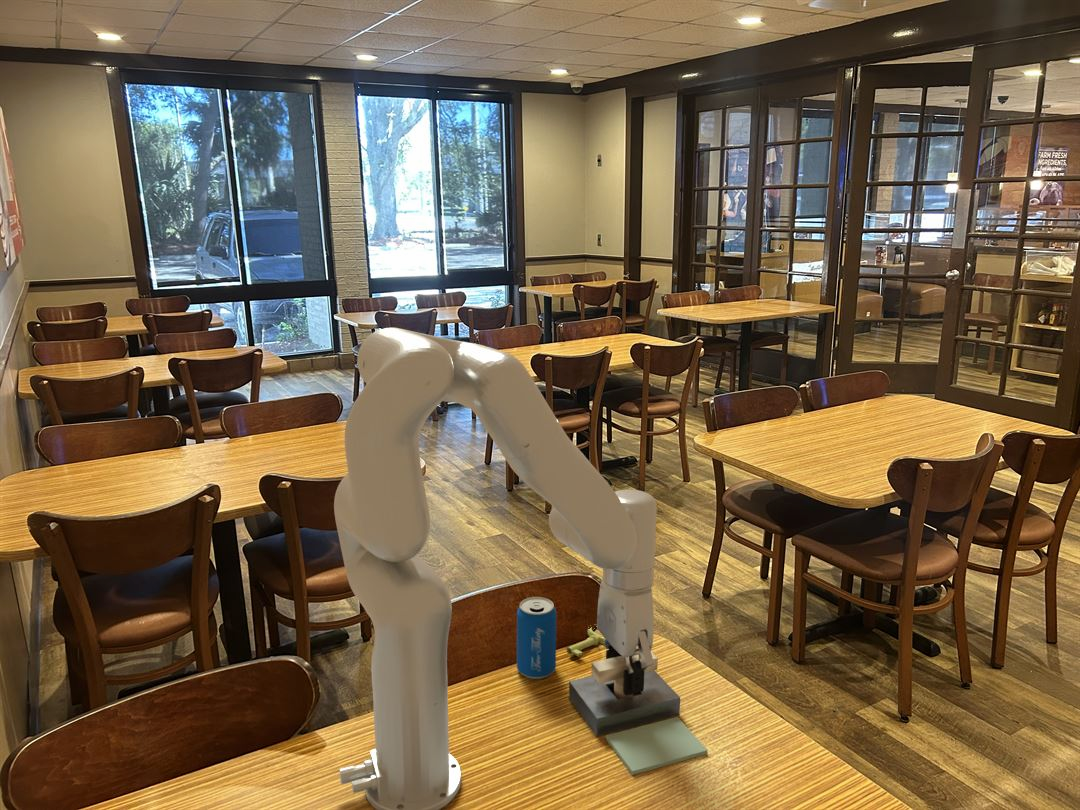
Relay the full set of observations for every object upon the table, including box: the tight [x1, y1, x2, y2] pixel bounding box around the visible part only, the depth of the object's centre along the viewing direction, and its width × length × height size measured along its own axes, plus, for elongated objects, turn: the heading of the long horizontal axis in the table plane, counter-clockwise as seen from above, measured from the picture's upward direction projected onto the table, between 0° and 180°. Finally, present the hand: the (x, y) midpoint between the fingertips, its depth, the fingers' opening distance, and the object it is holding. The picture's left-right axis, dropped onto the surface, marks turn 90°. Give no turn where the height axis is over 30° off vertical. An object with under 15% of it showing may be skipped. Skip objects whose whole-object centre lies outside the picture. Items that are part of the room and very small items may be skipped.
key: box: [566, 626, 606, 657], centre depth 136 cm, size 7×12×2 cm, turn 152°
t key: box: [590, 651, 659, 700], centre depth 118 cm, size 10×3×8 cm, turn 112°
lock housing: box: [568, 670, 681, 737], centre depth 119 cm, size 14×10×3 cm
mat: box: [605, 716, 708, 776], centre depth 110 cm, size 12×8×1 cm, turn 112°
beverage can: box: [516, 596, 557, 680], centre depth 127 cm, size 6×6×12 cm
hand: (624, 680), depth 118 cm, fingers open, 5 cm apart
